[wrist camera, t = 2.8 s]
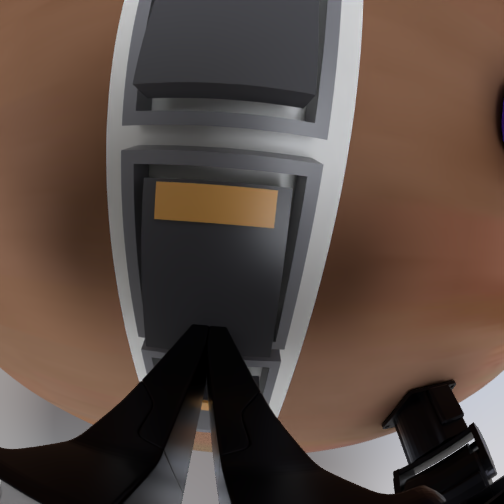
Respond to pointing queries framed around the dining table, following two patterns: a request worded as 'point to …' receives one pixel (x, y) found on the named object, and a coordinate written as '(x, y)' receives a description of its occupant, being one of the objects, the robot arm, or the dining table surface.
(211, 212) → the rocker
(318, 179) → the rocker switch panel
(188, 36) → the rocker
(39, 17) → the dining table surface
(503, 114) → the bottle
